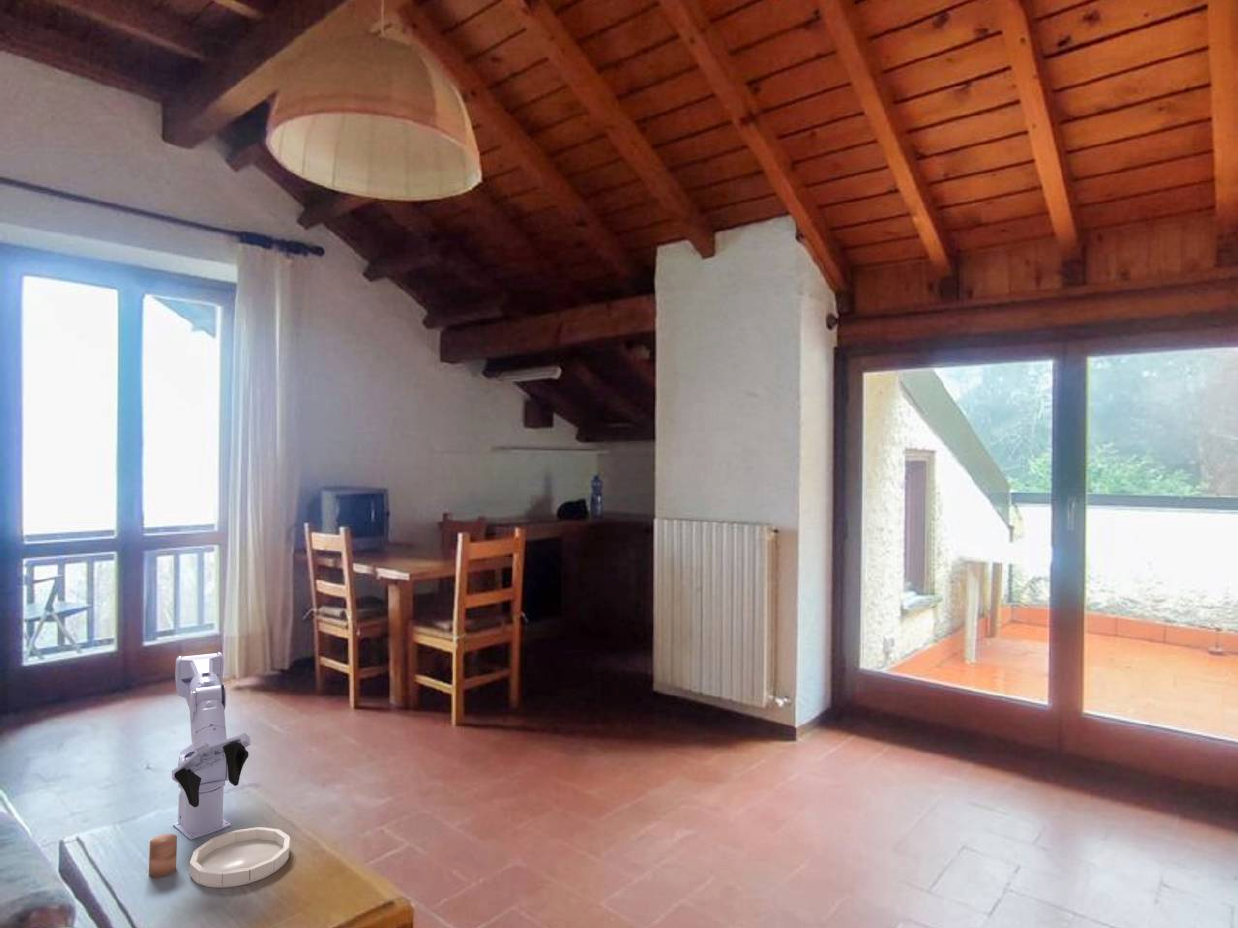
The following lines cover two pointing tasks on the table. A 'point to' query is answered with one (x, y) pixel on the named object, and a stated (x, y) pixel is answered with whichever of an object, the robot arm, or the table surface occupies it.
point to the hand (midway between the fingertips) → (214, 793)
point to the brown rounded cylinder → (162, 855)
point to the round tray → (239, 857)
